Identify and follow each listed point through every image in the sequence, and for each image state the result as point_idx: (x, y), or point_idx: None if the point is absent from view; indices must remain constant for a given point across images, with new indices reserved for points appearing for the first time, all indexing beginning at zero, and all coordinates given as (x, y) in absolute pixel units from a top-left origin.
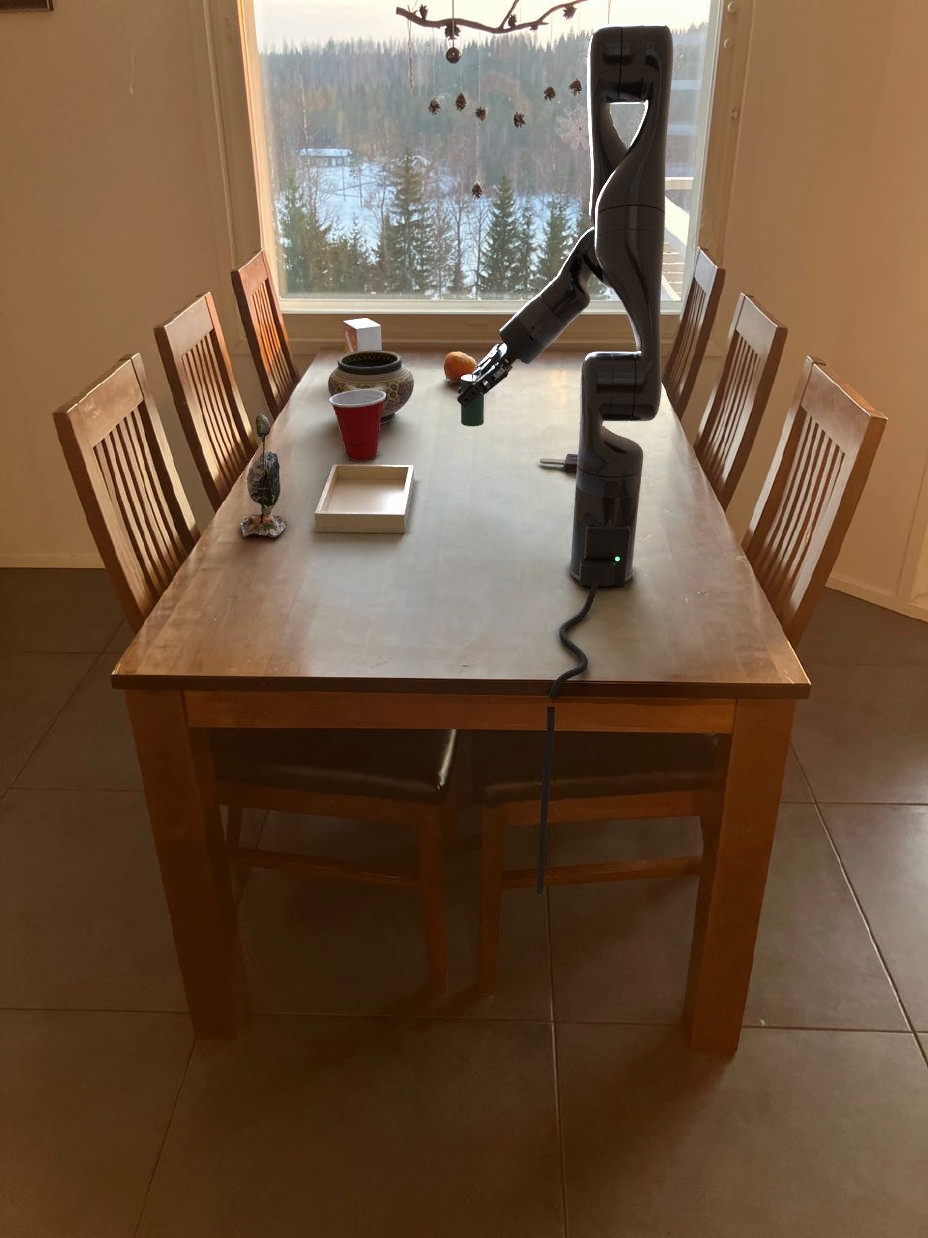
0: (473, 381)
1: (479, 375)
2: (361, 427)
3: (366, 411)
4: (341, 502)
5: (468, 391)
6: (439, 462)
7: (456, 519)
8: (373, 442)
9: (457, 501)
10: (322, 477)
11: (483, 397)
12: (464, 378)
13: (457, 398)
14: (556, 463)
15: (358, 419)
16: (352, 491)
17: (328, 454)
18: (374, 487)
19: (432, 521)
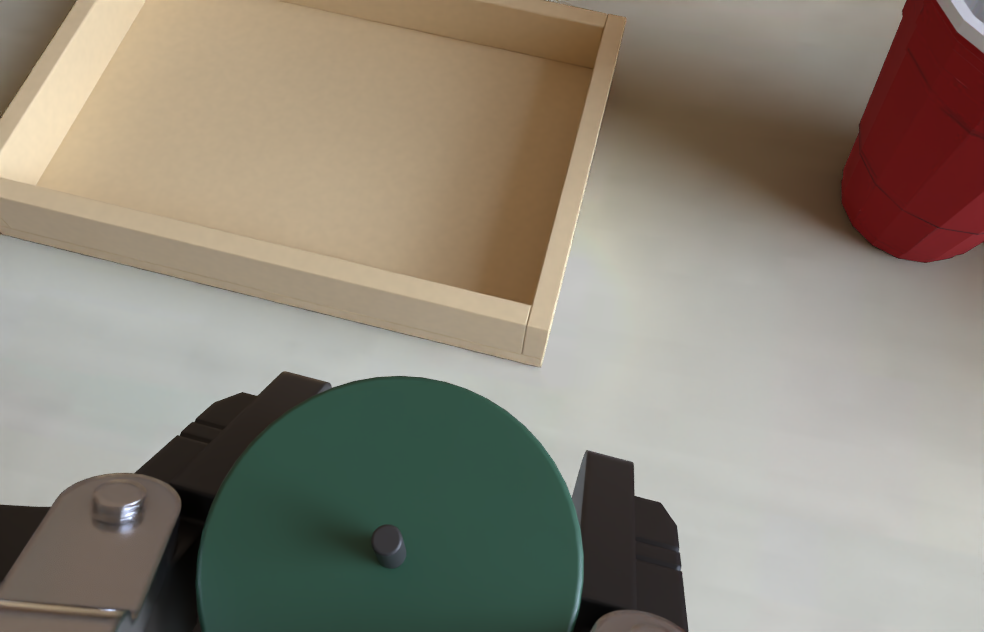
0: (99, 493)
1: (66, 595)
2: (890, 80)
3: (930, 34)
4: (345, 54)
5: (168, 457)
6: (800, 550)
7: (34, 473)
8: (891, 197)
9: None
10: (662, 42)
11: None
12: (390, 421)
13: (283, 373)
14: None
15: (904, 32)
16: (447, 101)
17: None
18: (466, 181)
19: (63, 362)
